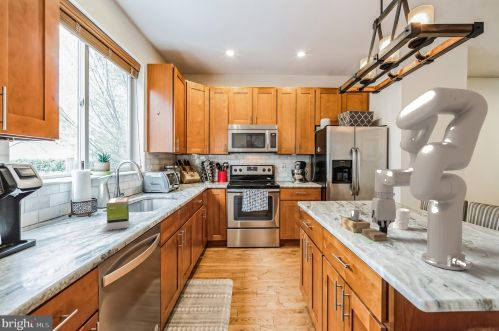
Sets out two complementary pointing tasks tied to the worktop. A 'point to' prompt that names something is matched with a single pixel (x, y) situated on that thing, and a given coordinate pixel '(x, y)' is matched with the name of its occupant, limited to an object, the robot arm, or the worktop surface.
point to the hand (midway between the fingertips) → (383, 234)
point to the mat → (373, 241)
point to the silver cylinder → (355, 215)
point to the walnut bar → (374, 235)
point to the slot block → (354, 224)
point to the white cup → (401, 219)
